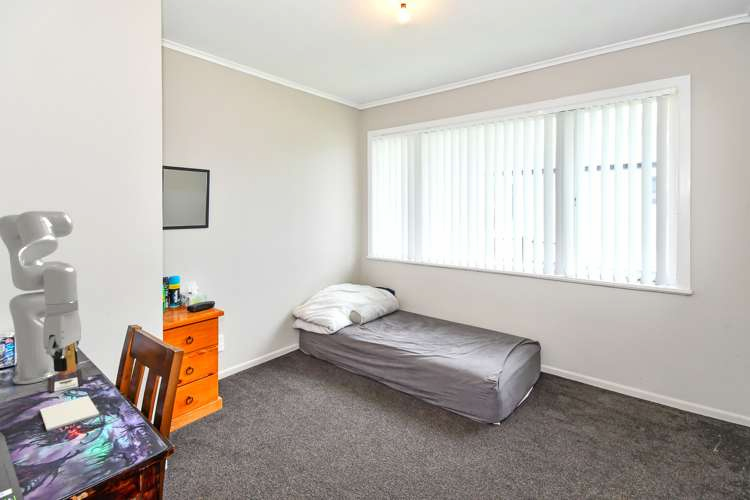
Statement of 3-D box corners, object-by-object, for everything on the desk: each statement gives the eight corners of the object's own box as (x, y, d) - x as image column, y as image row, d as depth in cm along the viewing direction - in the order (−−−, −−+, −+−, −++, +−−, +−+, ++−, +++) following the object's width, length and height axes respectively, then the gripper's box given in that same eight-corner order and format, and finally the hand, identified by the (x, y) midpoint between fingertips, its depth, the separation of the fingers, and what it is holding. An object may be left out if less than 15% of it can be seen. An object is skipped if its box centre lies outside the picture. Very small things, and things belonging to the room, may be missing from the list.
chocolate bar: (80, 368, 147) (82, 384, 133) (81, 371, 147) (83, 387, 133) (50, 375, 141) (49, 392, 127) (50, 377, 141) (49, 394, 127)
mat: (40, 410, 116) (39, 409, 116) (88, 397, 125) (88, 395, 125) (47, 431, 105) (46, 429, 105) (99, 415, 114) (99, 413, 114)
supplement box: (69, 370, 116) (67, 338, 115) (76, 371, 115) (74, 339, 114) (56, 374, 113) (54, 341, 112) (64, 375, 112) (61, 342, 111)
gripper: (66, 302, 120) (70, 358, 121) (26, 315, 103) (31, 380, 105) (92, 301, 121) (96, 357, 122) (57, 314, 104) (61, 378, 106)
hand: (66, 367), depth 114 cm, fingers closed on supplement box, 4 cm apart
